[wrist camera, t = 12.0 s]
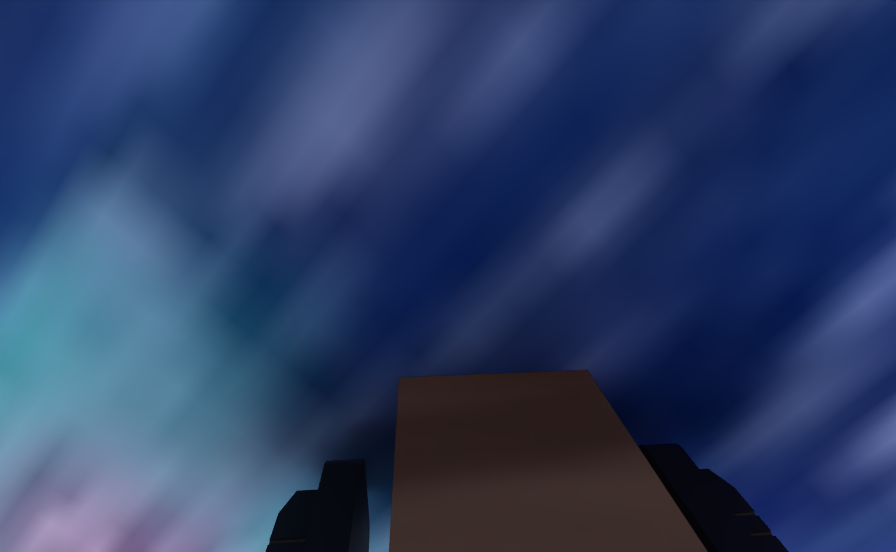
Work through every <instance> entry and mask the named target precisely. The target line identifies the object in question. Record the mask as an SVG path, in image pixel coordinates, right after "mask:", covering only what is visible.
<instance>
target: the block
mask: <svg viewBox="0 0 896 552" xmlns="http://www.w3.org/2000/svg"><path fill="white" fill-rule="evenodd" d="M389 552H708V551H707V550H706V548H705V547H704V545H703V544H702V542H701V541H700V539H699V538H698V536H697V535H696V533H695V532H694V530H693V529H692V527H691V526H690V524H689V523H688V521H687V520H686V518H685V517H684V515H683V514H682V512H681V511H680V509H679V508H678V506H677V505H676V503H675V502H674V500H673V499H672V497H671V496H670V494H669V493H668V491H667V490H666V488H665V487H664V485H663V484H662V482H661V481H660V479H659V477H658V476H657V474H656V473H655V471H654V470H653V468H652V467H651V465H650V464H649V462H648V461H647V459H646V458H645V456H644V455H643V453H642V452H641V450H640V449H639V447H638V446H637V444H636V443H635V441H634V440H633V438H632V437H631V435H630V434H629V432H628V431H627V429H626V428H625V426H624V425H623V423H622V422H621V420H620V419H619V417H618V416H617V414H616V413H615V411H614V410H613V408H612V407H611V405H610V403H609V402H608V400H607V399H606V397H605V396H604V394H603V393H602V391H601V390H600V388H599V387H598V385H597V384H596V382H595V381H594V379H593V378H592V376H591V375H590V373H589V372H588V370H574V371H549V372H523V373H498V374H473V375H448V376H423V377H399V385H398V403H397V421H396V438H395V456H394V473H393V491H392V509H391V526H390V544H389Z"/></svg>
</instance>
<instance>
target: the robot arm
mask: <svg viewBox="0 0 896 552" xmlns="http://www.w3.org/2000/svg"><path fill="white" fill-rule="evenodd" d="M638 447H639V449H640V450H641V452H642V453H643V455H644V456H645V458H646V459H647V461H648V462H649V464H650V465H651V467H652V468H653V470H654V471H655V473H656V474H657V476H658V477H659V479H660V481H661V482H662V484H663V485H664V487H665V488H666V490H667V491H668V493H669V494H670V496H671V497H672V499H673V500H674V502H675V503H676V505H677V506H678V508H679V509H680V511H681V512H682V514H683V515H684V517H685V518H686V520H687V521H688V523H689V524H690V526H691V527H692V529H693V530H694V532H695V533H696V535H697V536H698V538H699V539H700V541H701V542H702V544H703V545H704V547H705V548H706V550H707V551H708V552H788V550H787V549H786V548H785V547H784V546H783V544H782V543H781V542H780V541H779V540H778V539H777V537H776V536H772V534H771V530H770V529H769V528H768V527H767V525H766V524H765V523H764V522H763V521H762V520H761V518H760V517H759V516H756V515H755V514H754V510H753V509H752V508H751V507H750V505H749V504H748V503H747V502H746V501H745V499H744V498H743V497H742V496H741V495H740V494H739V492H738V491H737V490H736V489H735V488H734V487H733V486H731V485H730V484H729V483H727V482H726V481H724V480H723V479H722V478H720V477H719V476H717V475H716V474H715V473H713V472H712V471H710V470H709V469H699V468H698V467H697V466H696V465H695V463H694V462H693V461H692V460H691V458H690V457H689V456H688V454H687V453H686V452H685V451H684V449H683V448H682V447H681V446H679V445H678V444H657V445H640V446H638ZM266 552H369V509H368V497H367V484H366V472H365V462H364V459H351V460H332V461H326V462H325V464H324V468H323V472H322V476H321V480H320V483H319V487H318V490H302V491H296V492H295V494H294V495H293V496H292V497H291V499H290V500H289V501H288V502H287V503H286V505H285V506H284V507H283V508H282V510H281V511H280V512H279V513H278V516H277V519H276V522H275V525H274V528H273V531H272V534H271V537H270V543H269V545H268V546H267V549H266Z"/></svg>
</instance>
